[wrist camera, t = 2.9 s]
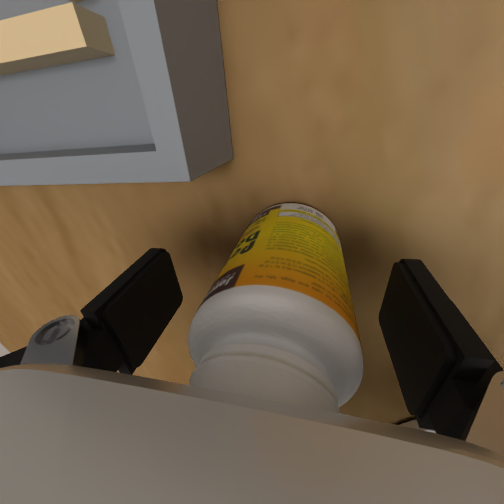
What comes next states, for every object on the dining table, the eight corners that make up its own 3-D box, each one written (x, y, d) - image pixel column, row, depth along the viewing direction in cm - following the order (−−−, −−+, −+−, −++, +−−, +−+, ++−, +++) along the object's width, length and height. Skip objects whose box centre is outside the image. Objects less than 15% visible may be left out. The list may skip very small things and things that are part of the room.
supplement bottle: (266, 182, 12) (156, 336, 4) (360, 226, 12) (466, 478, 4) (234, 259, 15) (132, 442, 7) (309, 294, 15) (304, 520, 7)
